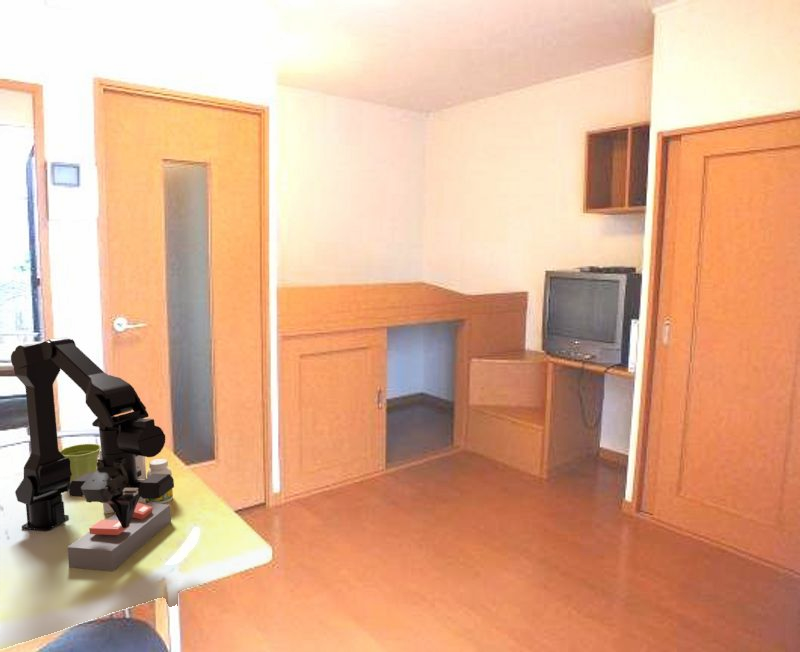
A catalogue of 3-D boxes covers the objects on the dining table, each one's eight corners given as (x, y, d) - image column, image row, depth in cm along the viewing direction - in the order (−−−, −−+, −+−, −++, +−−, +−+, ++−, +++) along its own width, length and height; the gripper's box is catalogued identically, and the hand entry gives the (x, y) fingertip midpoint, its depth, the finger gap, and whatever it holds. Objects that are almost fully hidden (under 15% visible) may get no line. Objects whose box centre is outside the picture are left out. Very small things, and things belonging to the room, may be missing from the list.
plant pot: (63, 478, 151) (60, 446, 150) (103, 472, 155) (101, 441, 154) (59, 491, 143) (56, 457, 142) (102, 485, 147) (100, 452, 146)
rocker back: (115, 511, 120) (116, 506, 120) (126, 504, 123) (127, 499, 123) (142, 519, 119) (142, 514, 119) (152, 512, 123) (152, 506, 122)
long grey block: (69, 567, 109) (67, 547, 108) (144, 510, 132) (143, 494, 132) (112, 571, 107) (111, 550, 107) (180, 513, 131) (179, 496, 130)
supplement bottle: (175, 494, 141) (173, 457, 140) (169, 504, 136) (167, 465, 135) (152, 496, 140) (150, 458, 139) (145, 505, 135) (143, 466, 134)
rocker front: (89, 534, 112) (89, 527, 112) (102, 525, 116) (101, 519, 115) (118, 535, 111) (117, 528, 111) (129, 526, 115) (129, 520, 115)
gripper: (42, 463, 104) (52, 545, 106) (137, 465, 102) (146, 549, 103) (85, 443, 115) (93, 518, 117) (172, 445, 112) (178, 521, 114)
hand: (126, 527), depth 113 cm, fingers closed
